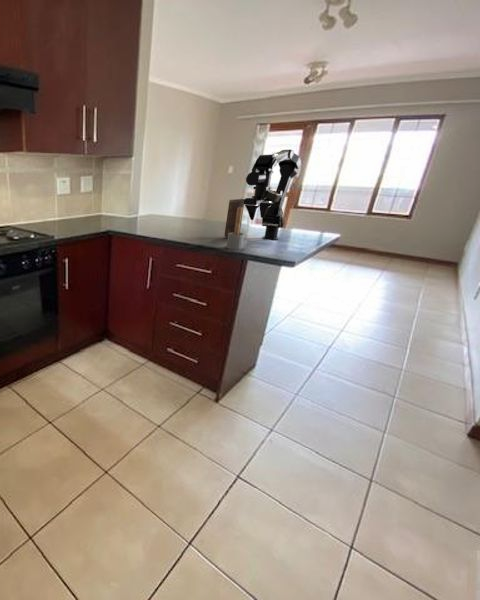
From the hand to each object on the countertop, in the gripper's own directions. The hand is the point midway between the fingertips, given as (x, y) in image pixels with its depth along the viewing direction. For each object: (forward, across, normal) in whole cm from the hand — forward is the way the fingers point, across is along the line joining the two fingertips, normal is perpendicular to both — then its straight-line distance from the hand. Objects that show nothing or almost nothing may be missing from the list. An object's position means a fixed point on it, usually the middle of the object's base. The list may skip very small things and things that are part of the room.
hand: (257, 218), depth 159 cm
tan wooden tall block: (+12, +4, +14) cm, 19 cm away
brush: (+12, -16, 0) cm, 19 cm away
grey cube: (+12, -16, 0) cm, 20 cm away
